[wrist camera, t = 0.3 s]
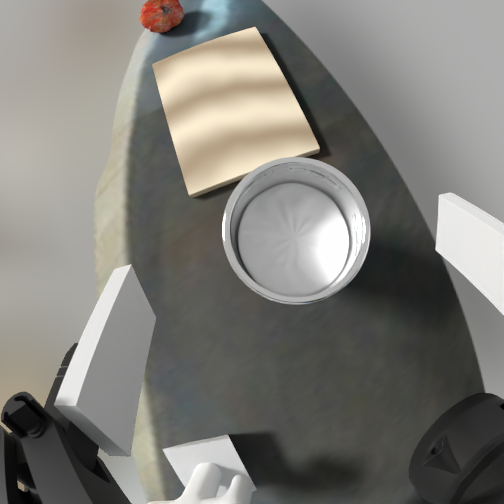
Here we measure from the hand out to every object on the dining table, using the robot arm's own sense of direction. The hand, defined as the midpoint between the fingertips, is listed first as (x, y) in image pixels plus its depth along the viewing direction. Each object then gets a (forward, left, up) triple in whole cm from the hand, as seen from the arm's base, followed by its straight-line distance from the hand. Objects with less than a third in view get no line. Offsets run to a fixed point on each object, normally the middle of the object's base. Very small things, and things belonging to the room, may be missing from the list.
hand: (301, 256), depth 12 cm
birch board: (+18, 0, -16) cm, 24 cm away
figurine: (-17, +14, -16) cm, 27 cm away
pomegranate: (+35, +4, -16) cm, 39 cm away
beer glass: (+1, 0, -16) cm, 16 cm away
